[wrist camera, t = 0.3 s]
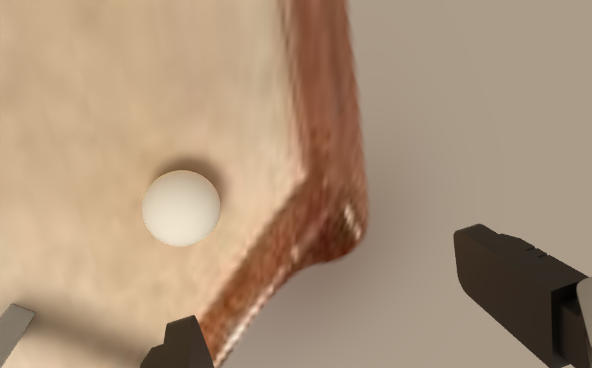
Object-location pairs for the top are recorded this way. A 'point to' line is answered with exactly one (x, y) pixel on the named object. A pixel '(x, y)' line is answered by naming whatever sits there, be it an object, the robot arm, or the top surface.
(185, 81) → the top surface
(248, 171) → the top surface
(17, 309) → the bridge
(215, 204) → the ball
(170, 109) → the top surface
